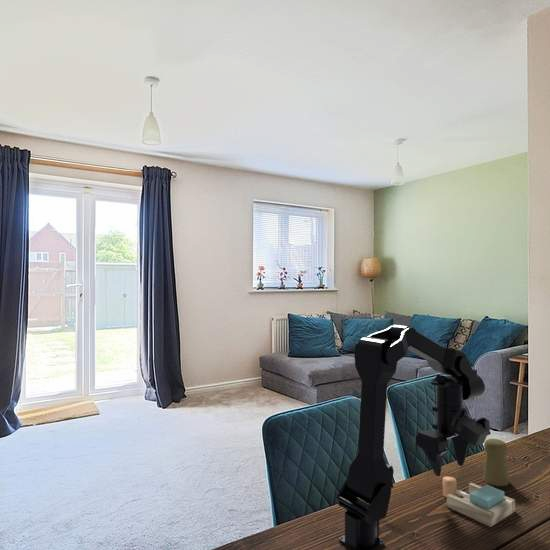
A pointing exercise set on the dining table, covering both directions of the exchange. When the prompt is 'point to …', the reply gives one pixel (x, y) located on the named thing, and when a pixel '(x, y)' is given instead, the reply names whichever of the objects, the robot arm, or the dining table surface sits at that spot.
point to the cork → (495, 463)
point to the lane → (478, 512)
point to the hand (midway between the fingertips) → (449, 470)
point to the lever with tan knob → (475, 494)
